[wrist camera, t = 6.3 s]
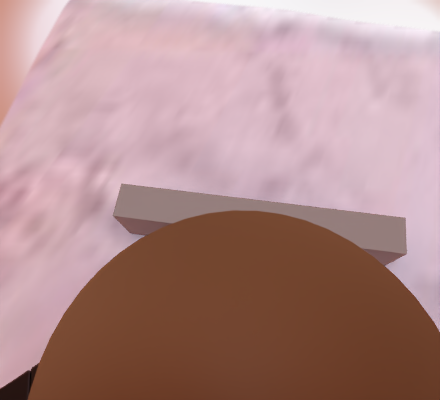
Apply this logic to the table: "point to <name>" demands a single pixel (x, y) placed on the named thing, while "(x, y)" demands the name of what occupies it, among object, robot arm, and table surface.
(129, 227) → the backstop wall
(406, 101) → the table surface
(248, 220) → the dowel
